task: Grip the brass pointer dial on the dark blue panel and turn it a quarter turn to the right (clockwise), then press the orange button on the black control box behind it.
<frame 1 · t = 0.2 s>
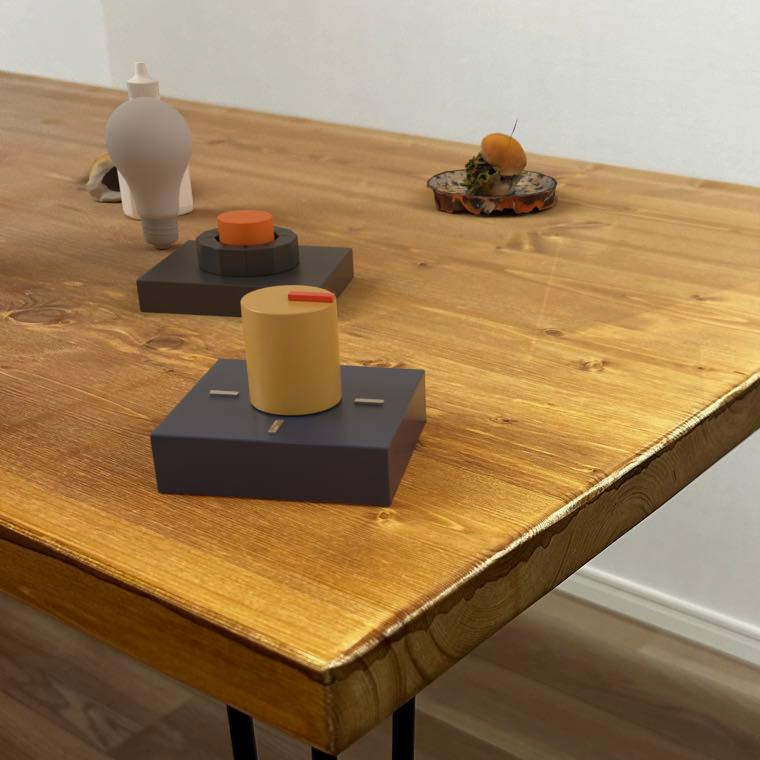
button: (246, 229, 80), point 4 cm above the table, slide at 0.1 cm
burger: (492, 203, 108), on the table
dial panel: (300, 455, 60), on the table
button box: (252, 294, 82), on the table
dial: (292, 346, 57), point 6 cm above the table, hinge at 0.0°
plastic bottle: (159, 216, 100), on the table
pastry: (133, 195, 107), on the table
lightbulb: (163, 251, 91), on the table
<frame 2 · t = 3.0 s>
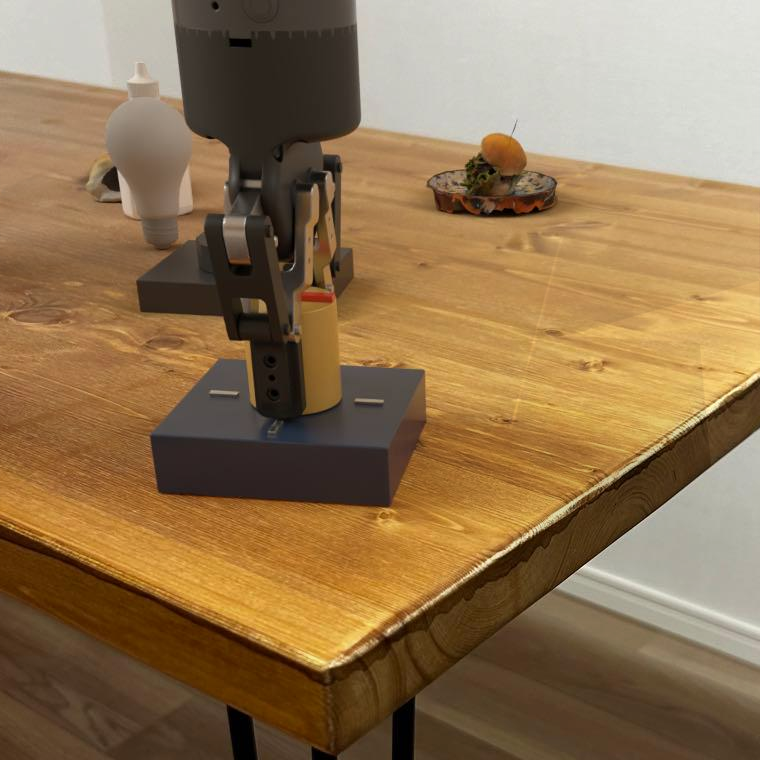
hand: (296, 393, 58), 3 cm above the table, tool pointing down, fingers closed on dial, 4 cm apart
dial: (292, 346, 57), point 6 cm above the table, hinge at 0.1°, touching gripper
everything else where it was.
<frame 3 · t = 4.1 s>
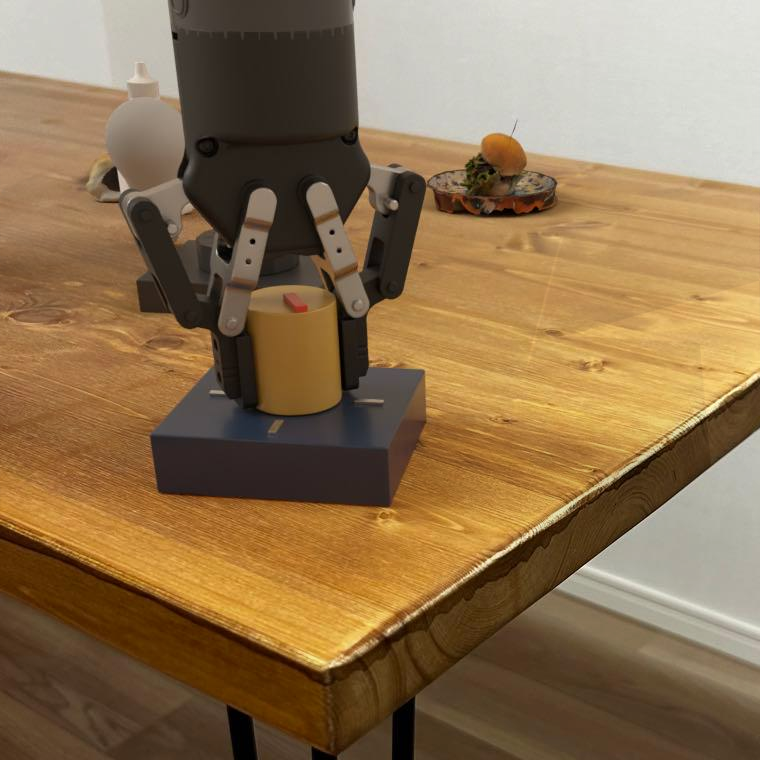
hand: (295, 392, 58), 3 cm above the table, tool pointing down, fingers closed on dial, 4 cm apart
dial: (292, 346, 57), point 6 cm above the table, hinge at -58.5°, touching gripper
everything else where it was.
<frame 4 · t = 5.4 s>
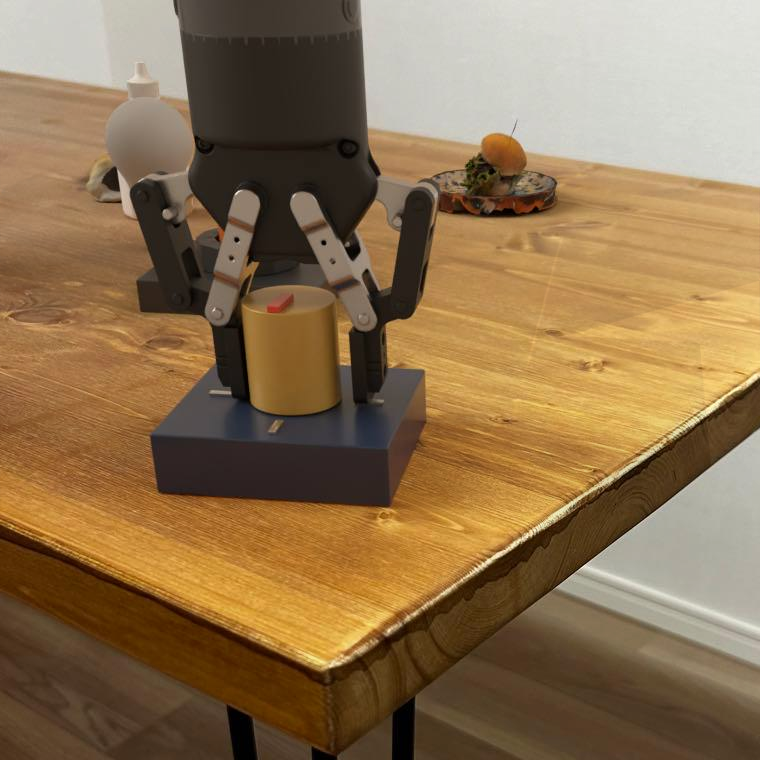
hand: (304, 394, 58), 3 cm above the table, tool pointing down, fingers open, 5 cm apart
dial: (292, 346, 57), point 6 cm above the table, hinge at -93.6°, touching gripper
everything else where it was.
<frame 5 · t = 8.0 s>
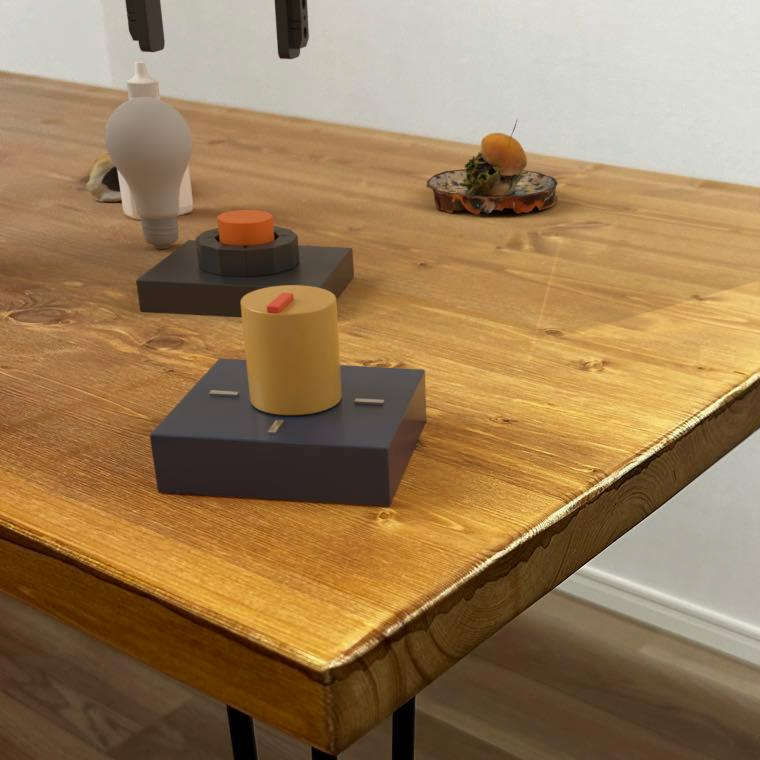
hand: (220, 54, 72), 16 cm above the table, tool pointing down, fingers open, 8 cm apart
dial: (292, 346, 57), point 6 cm above the table, hinge at -93.6°
everything else where it was.
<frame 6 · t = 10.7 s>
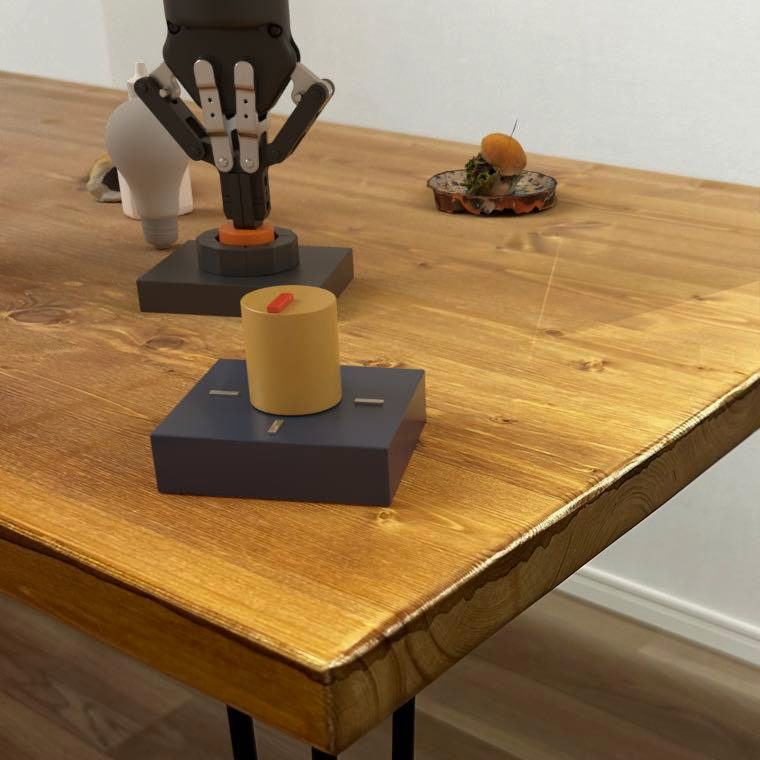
hand: (248, 226, 80), 5 cm above the table, tool pointing down, fingers closed
button: (247, 240, 80), point 4 cm above the table, slide at -0.6 cm, touching gripper
everything else where it was.
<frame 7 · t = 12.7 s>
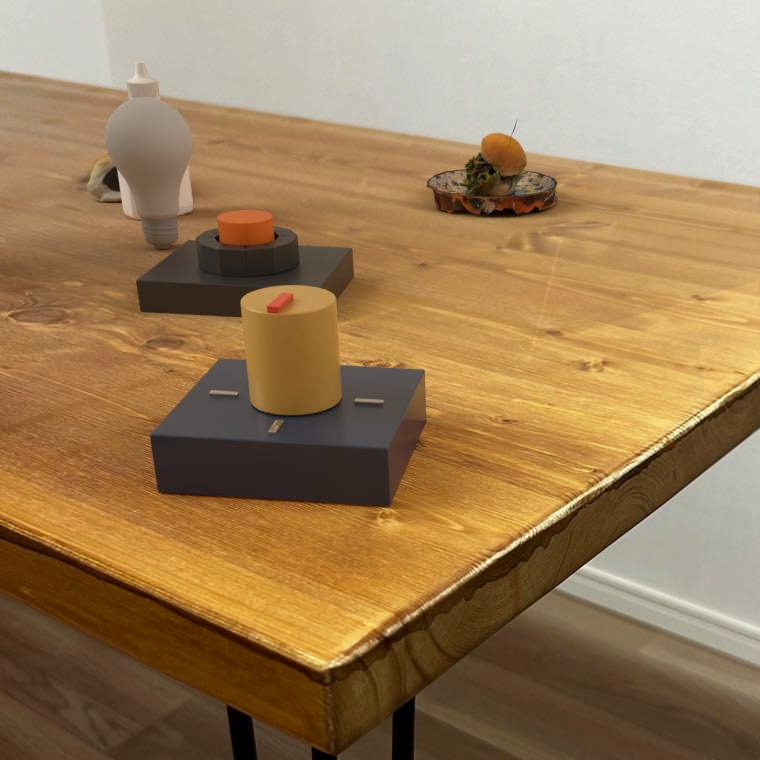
button: (246, 229, 80), point 4 cm above the table, slide at 0.1 cm
everything else where it was.
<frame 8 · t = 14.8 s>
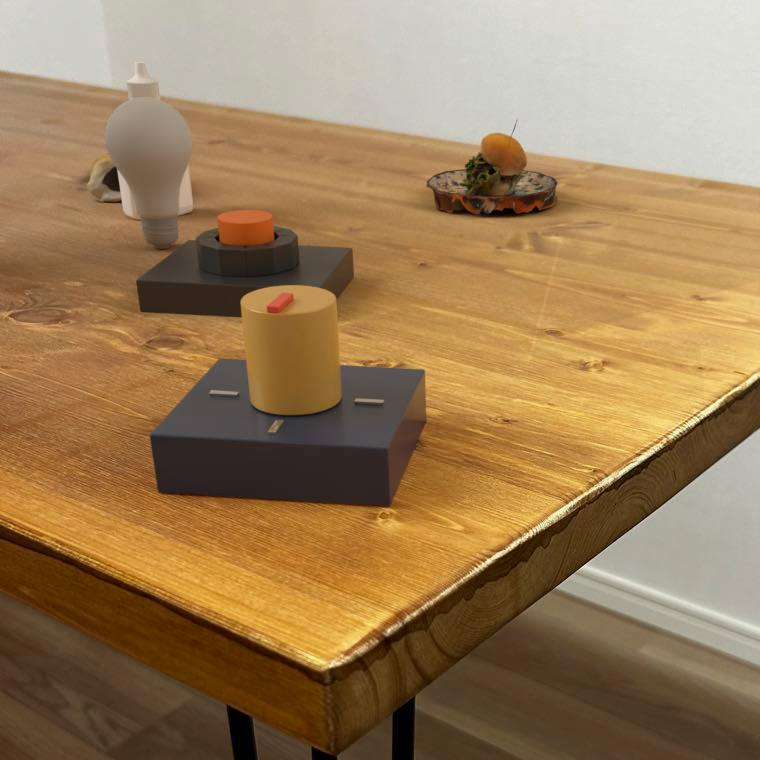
nothing on the table moved.
at the end: dial at -94° (first picture: +0°); button pushed in 1.1 cm at the most during the clip, back to where it started at the end; button slide at 0.1 cm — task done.
